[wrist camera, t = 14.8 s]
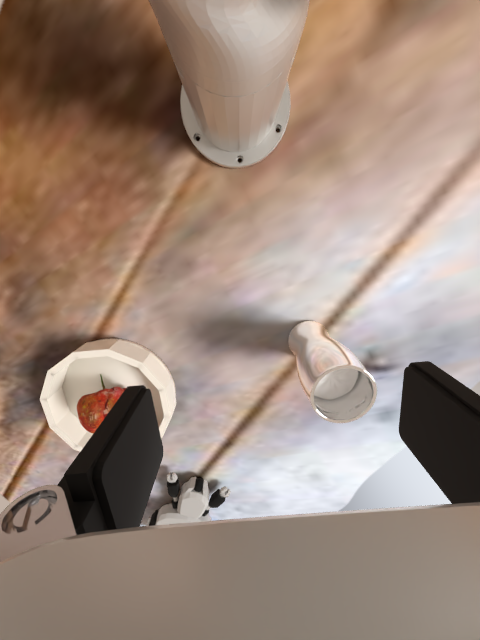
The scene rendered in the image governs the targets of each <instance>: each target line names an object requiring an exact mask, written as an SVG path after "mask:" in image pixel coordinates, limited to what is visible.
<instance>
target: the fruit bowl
mask: <svg viewBox="0 0 480 640" xmlns="http://www.w3.org/2000/svg"><path fill="white" fill-rule="evenodd" d="M100 374H101V375H102V379H103V383H104V386H105V389H111V388H113V387H121V388H127V387H128V386H138V385H144V386H145V387H146V389H150V390H151V394H152V398H153V403H154V408H155V412H156V417H157V422H158V426H159V431H160V436H161V439H162V437H163V435H164V433H165V430H166V428H167V426H168V424H169V422H170V420H171V417H172V414H173V412H174V409H175V406H176V388H175V383H174V380H173V377H172V375H171V373H170V371H169V369H168V368H167V366H166V365H165V364H164V362H163V361H162V360H161V359H160V358H159V357H158V356H157V355H156V354H154V353H153V352H152V351H150V350H149V349H147V348H146V347H144V346H142V345H140V344H138V343H135V342H132V341H129V340H124V339H116V338H105V339H99V340H95V341H92V342H86V343H85V344H83V345H82V346H81V347H79V348H78V349H77V350H75V351H74V352H72V353H71V354H70V355H68V356H67V357H66V358H64V359H63V360H62V361H60V362H59V363H58V364H56V365H55V366H54V367H52V368H51V369H50V370H48V371H47V375H46V378H45V382H44V385H43V389H42V392H41V396H40V401H41V404H42V407H43V410H44V413H45V415H46V418H47V421H48V424H49V427H50V428H51V429H52V430H53V431H54V432H55V433H56V434H57V435H58V436H60V437H61V438H62V439H63V440H64V441H65V442H66V443H67V444H68V445H69V446H70V447H72V448H73V449H74V450H77V451H80V452H81V450H82V449H83V447H84V446H85V445H86V443H87V442H88V441H89V439H90V438H91V436H92V435H93V433H90V432H88V431H87V430H86V429H85V428H84V427H83V426H82V425H81V423H80V421H79V418H78V413H77V403H78V401H79V399H80V398H81V397H82V396H83V395H87V394H92V393H95V392H98V391H100V390H102V389H103V387H102V383H101V376H100Z"/></svg>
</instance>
